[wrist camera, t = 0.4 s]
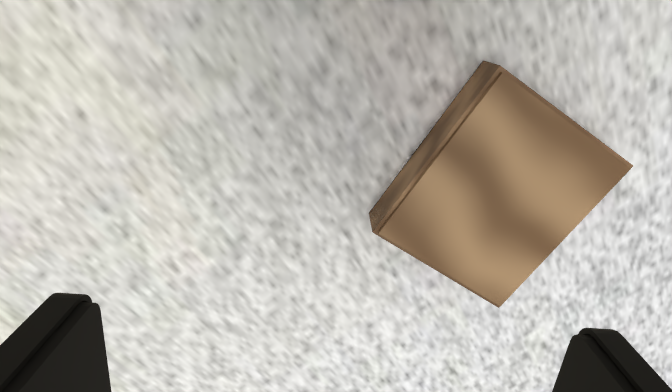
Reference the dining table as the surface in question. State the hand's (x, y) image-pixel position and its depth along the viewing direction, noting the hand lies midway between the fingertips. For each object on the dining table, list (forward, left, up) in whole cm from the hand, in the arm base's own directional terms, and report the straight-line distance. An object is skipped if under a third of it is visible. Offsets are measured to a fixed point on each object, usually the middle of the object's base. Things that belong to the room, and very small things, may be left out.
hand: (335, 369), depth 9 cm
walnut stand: (-2, +14, -28) cm, 31 cm away
